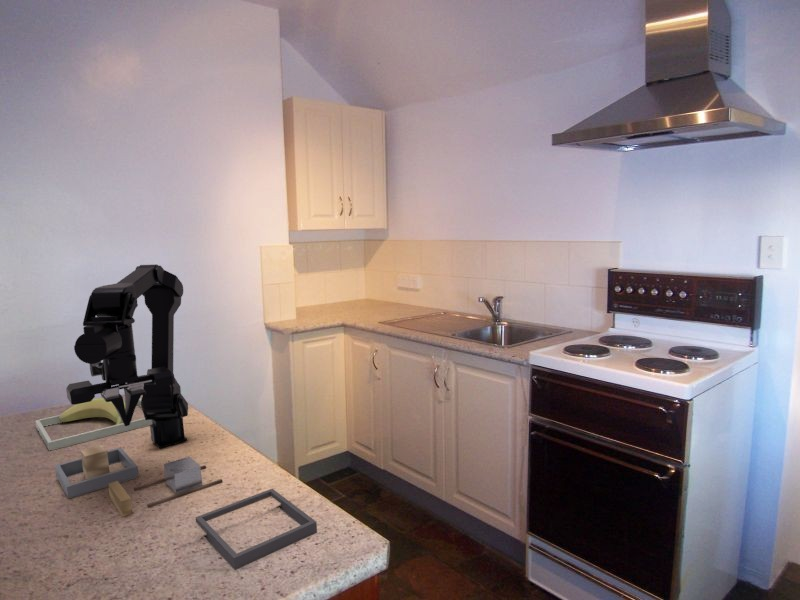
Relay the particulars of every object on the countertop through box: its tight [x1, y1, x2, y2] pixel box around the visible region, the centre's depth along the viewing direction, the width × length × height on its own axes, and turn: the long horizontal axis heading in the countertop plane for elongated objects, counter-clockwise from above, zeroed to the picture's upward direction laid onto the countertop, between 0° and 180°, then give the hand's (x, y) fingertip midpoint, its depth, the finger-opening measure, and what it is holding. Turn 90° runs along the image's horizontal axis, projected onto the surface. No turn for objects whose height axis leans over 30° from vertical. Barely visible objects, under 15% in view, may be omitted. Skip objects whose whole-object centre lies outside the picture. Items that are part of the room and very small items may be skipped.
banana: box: [59, 397, 125, 425], centre depth 145 cm, size 14×6×20 cm
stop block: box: [80, 444, 110, 480], centre depth 114 cm, size 4×4×6 cm
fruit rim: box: [35, 397, 152, 452], centre depth 146 cm, size 26×20×2 cm
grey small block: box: [163, 456, 203, 495], centre depth 109 cm, size 5×6×4 cm
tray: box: [54, 447, 140, 499], centre depth 114 cm, size 13×13×4 cm
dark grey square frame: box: [195, 488, 318, 571], centre depth 95 cm, size 15×16×2 cm
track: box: [108, 464, 224, 517], centre depth 107 cm, size 21×9×4 cm, turn 130°
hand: (126, 425), depth 112 cm, fingers closed
